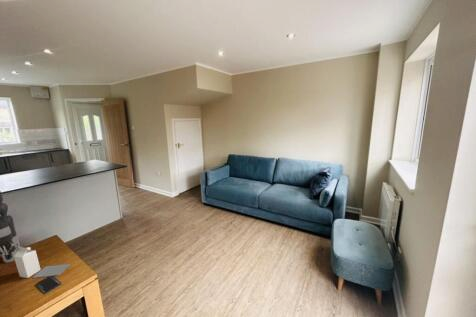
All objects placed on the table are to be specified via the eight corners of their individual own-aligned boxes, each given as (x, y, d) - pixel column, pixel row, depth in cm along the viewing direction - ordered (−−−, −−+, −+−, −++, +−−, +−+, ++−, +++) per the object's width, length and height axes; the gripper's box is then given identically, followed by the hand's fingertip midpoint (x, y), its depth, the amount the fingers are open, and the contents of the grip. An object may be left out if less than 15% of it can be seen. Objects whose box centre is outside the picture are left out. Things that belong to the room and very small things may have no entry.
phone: (51, 274, 125) (61, 283, 118) (51, 276, 125) (62, 284, 118) (34, 284, 118) (44, 293, 111) (35, 285, 119) (44, 294, 111)
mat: (32, 278, 124) (32, 277, 124) (46, 266, 134) (45, 266, 134) (59, 275, 125) (58, 274, 125) (70, 264, 135) (70, 263, 135)
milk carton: (28, 278, 124) (20, 251, 121) (19, 276, 126) (11, 250, 122) (41, 270, 131) (34, 244, 128) (33, 268, 133) (26, 243, 129)
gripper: (-17, 239, 118) (-9, 264, 121) (7, 237, 119) (14, 261, 122) (-3, 232, 125) (4, 256, 129) (19, 230, 126) (26, 254, 130)
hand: (9, 258), depth 125 cm, fingers closed
